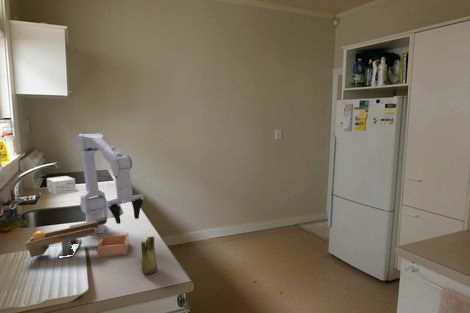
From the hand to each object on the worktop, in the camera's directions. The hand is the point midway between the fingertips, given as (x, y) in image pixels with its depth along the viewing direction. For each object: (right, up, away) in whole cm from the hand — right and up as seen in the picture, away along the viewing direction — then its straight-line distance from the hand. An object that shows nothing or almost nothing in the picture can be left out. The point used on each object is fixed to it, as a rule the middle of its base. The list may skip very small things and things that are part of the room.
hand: (127, 220), depth 125 cm
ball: (-30, -4, -9) cm, 31 cm away
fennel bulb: (+13, -14, -18) cm, 26 cm away
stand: (-22, -11, -1) cm, 25 cm away
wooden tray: (-21, -7, -2) cm, 22 cm away
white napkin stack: (-76, +1, +92) cm, 120 cm away
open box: (-5, -11, -1) cm, 12 cm away
